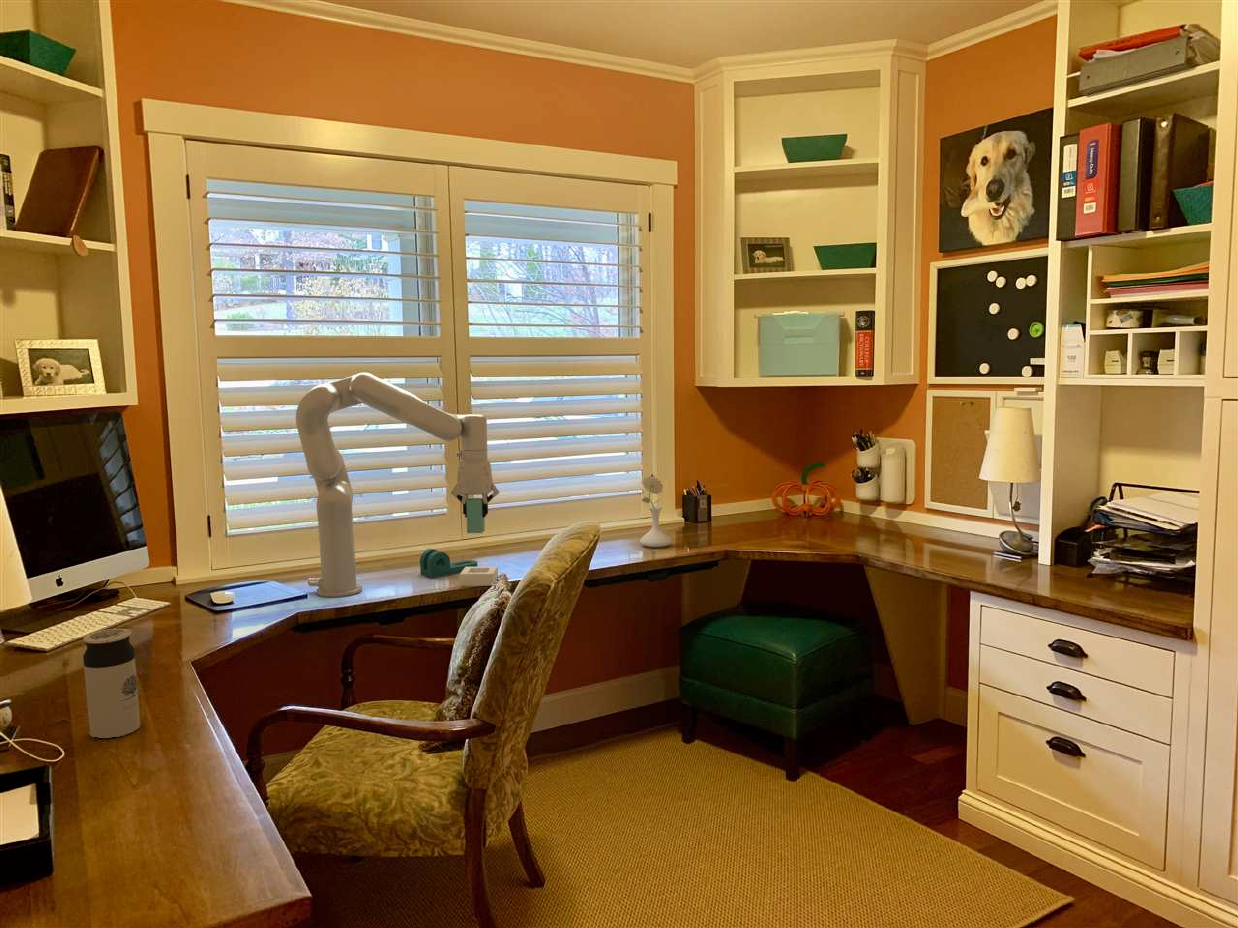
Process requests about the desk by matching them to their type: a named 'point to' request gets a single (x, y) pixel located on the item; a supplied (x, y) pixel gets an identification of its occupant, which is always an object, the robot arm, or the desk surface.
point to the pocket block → (478, 576)
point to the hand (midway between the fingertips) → (475, 516)
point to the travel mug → (111, 683)
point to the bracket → (441, 564)
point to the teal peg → (475, 516)
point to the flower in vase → (654, 516)
